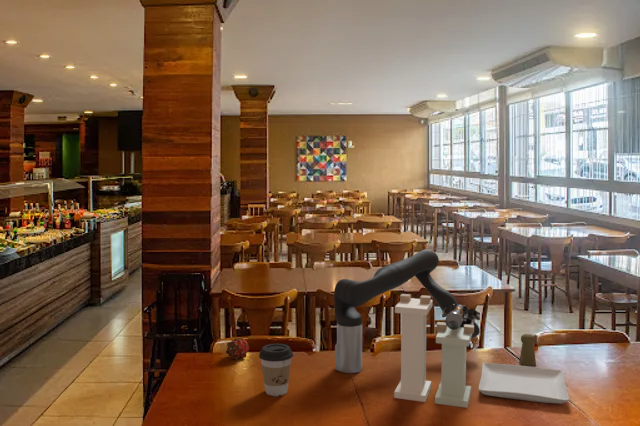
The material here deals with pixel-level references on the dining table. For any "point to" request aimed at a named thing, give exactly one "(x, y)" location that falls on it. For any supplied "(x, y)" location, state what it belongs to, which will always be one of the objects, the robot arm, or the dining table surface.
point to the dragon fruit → (237, 348)
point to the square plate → (523, 383)
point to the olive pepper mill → (527, 350)
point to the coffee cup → (276, 368)
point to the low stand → (453, 365)
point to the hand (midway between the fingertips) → (458, 307)
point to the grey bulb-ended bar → (455, 318)
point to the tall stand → (413, 348)
